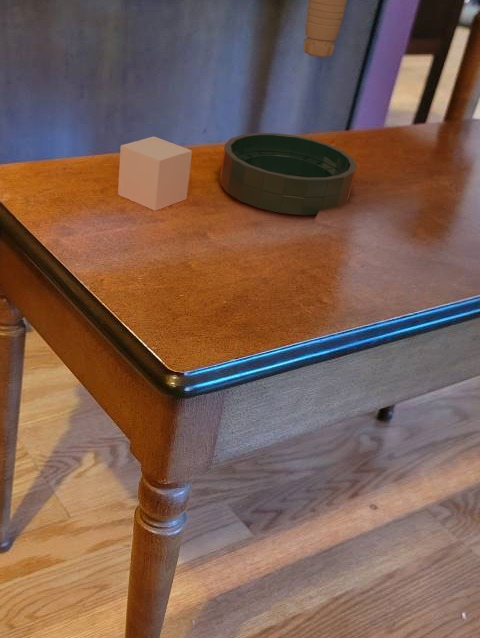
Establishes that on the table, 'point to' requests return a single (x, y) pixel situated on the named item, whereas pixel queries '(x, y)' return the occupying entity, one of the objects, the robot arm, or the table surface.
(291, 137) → the bowl
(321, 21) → the handle
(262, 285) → the table surface
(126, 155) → the beige cube
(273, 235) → the table surface
